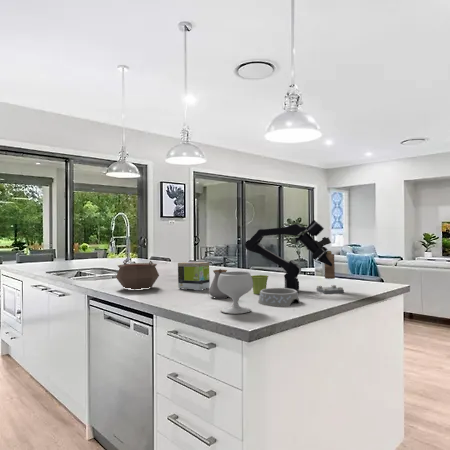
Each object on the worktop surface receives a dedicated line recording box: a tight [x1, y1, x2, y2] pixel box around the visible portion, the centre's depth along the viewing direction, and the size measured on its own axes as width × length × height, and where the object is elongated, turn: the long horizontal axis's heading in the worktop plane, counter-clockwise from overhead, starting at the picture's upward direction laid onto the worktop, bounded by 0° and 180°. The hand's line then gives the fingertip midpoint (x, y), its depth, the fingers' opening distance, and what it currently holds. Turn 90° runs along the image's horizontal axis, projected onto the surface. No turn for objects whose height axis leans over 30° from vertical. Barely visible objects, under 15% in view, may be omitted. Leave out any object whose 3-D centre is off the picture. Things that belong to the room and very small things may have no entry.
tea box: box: [177, 261, 211, 291], centre depth 210 cm, size 15×10×15 cm
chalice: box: [217, 271, 253, 315], centre depth 150 cm, size 14×14×15 cm
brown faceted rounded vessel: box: [115, 259, 160, 289], centre depth 214 cm, size 24×24×16 cm
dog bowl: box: [257, 287, 301, 307], centre depth 166 cm, size 17×18×5 cm
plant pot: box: [251, 274, 269, 295], centre depth 190 cm, size 9×9×9 cm
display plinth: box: [316, 284, 345, 295], centre depth 190 cm, size 10×10×2 cm
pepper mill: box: [324, 250, 336, 280], centre depth 190 cm, size 5×5×14 cm
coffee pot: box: [208, 268, 230, 299], centre depth 177 cm, size 21×12×15 cm, turn 0°
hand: (332, 265), depth 189 cm, fingers closed on pepper mill, 5 cm apart
